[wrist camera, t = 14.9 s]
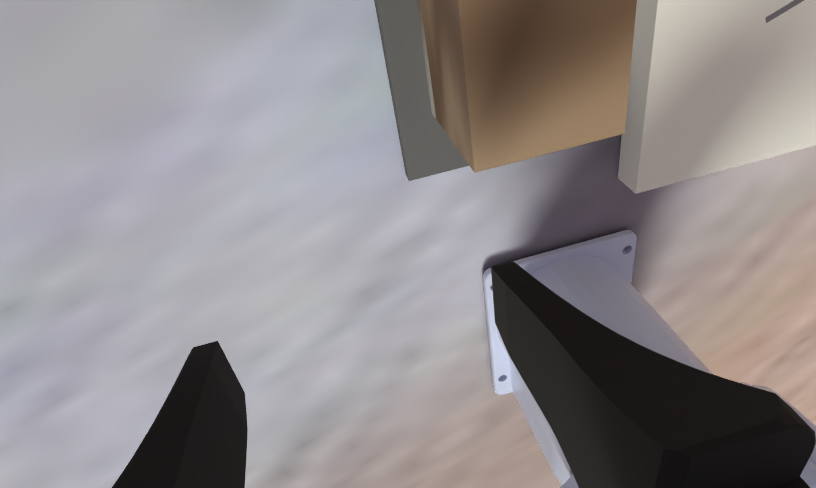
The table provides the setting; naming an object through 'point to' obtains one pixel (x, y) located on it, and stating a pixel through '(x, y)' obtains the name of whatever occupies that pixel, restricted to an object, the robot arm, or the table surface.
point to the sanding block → (527, 74)
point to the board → (717, 87)
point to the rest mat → (413, 93)
